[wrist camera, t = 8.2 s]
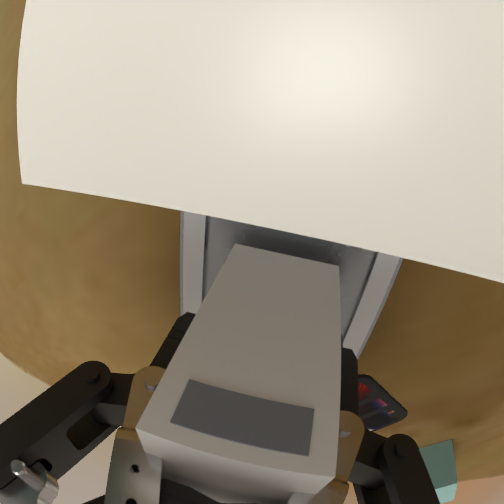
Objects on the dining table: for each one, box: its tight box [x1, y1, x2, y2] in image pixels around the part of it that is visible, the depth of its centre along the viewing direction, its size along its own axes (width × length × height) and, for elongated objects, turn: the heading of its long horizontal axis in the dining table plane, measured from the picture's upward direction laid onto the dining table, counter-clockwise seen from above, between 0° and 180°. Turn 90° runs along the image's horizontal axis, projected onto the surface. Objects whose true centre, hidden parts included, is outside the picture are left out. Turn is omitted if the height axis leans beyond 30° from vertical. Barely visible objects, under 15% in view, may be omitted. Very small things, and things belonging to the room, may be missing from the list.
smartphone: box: [358, 375, 407, 432], centre depth 22 cm, size 7×1×15 cm
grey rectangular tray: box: [180, 211, 403, 360], centre depth 15 cm, size 10×25×2 cm, turn 173°
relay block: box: [419, 439, 457, 504], centre depth 21 cm, size 5×6×7 cm
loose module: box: [136, 244, 341, 504], centre depth 10 cm, size 4×6×8 cm
